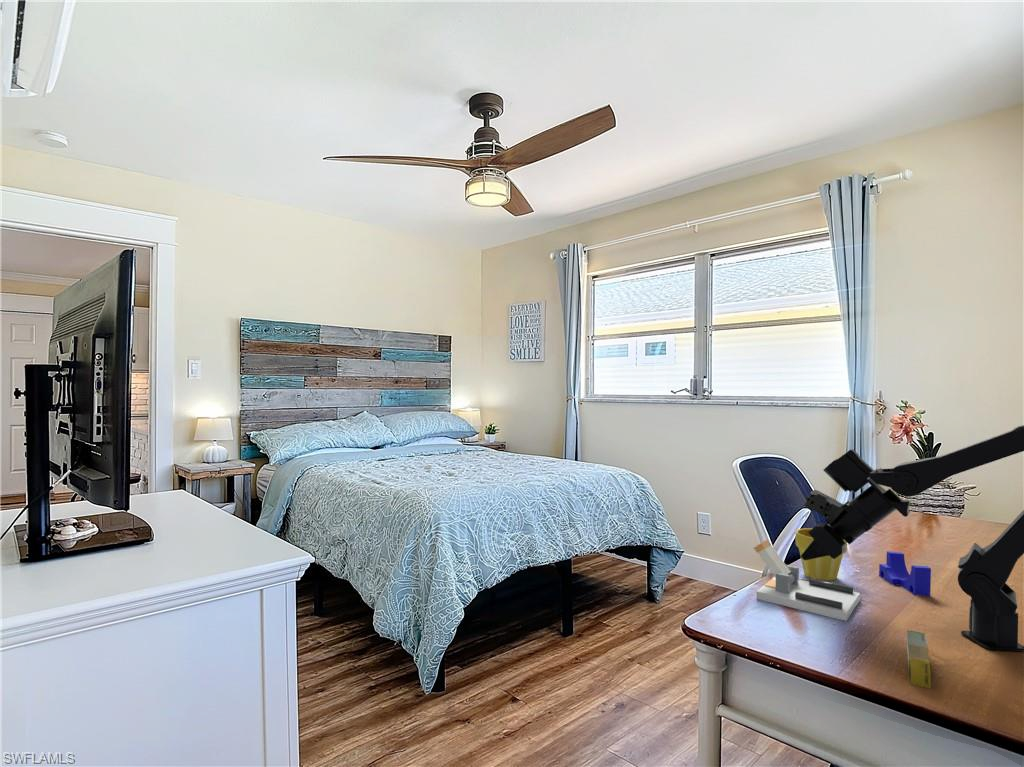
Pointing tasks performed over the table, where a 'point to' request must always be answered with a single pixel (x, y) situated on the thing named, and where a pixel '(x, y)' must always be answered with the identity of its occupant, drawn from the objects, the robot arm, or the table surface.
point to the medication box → (918, 659)
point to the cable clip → (906, 574)
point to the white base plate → (810, 595)
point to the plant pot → (817, 559)
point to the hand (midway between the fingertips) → (802, 558)
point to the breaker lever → (773, 560)
